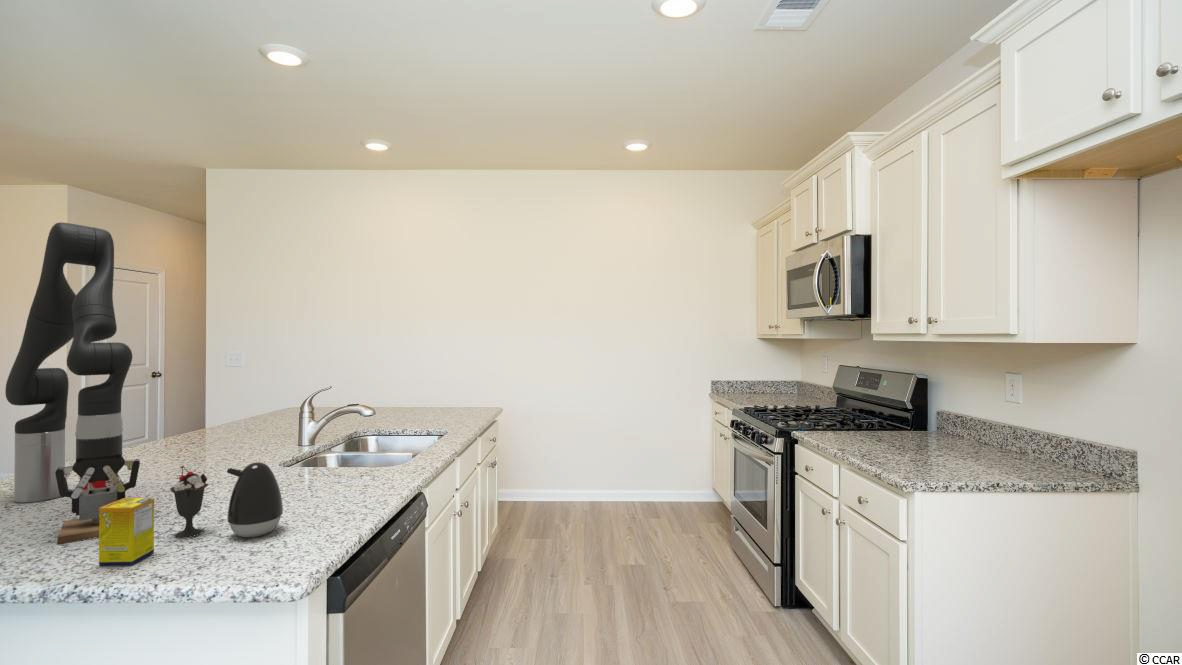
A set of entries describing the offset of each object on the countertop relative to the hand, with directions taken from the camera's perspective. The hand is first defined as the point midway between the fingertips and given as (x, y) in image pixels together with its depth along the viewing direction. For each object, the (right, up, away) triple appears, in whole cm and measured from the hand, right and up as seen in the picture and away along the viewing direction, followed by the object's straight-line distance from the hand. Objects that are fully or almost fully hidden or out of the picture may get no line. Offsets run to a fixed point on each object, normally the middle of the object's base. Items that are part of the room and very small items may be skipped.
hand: (98, 511), depth 119 cm
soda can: (-15, -4, +16) cm, 22 cm away
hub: (0, -1, 0) cm, 1 cm away
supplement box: (+19, -4, -15) cm, 25 cm away
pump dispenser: (+35, -4, -1) cm, 35 cm away
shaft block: (0, -4, 0) cm, 4 cm away
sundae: (+21, -4, -2) cm, 22 cm away
